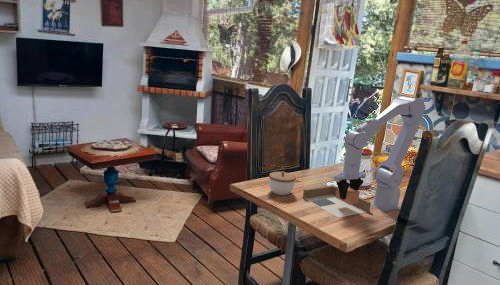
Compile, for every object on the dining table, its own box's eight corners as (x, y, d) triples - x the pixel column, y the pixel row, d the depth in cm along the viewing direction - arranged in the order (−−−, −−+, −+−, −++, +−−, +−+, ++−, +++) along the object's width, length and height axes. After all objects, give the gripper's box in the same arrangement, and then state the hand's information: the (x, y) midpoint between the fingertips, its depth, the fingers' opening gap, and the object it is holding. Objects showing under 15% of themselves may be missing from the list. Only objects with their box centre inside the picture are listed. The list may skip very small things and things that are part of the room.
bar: (335, 197, 143) (337, 186, 142) (344, 196, 145) (345, 185, 144) (349, 204, 137) (351, 193, 136) (357, 203, 140) (359, 191, 139)
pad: (325, 198, 150) (326, 198, 150) (335, 203, 146) (335, 203, 146) (310, 201, 146) (310, 201, 146) (320, 206, 141) (320, 206, 141)
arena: (332, 194, 158) (333, 185, 157) (369, 212, 141) (370, 202, 140) (302, 199, 149) (303, 189, 148) (338, 219, 133) (339, 208, 132)
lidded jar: (262, 192, 153) (264, 170, 151) (279, 187, 161) (281, 166, 159) (282, 200, 146) (284, 177, 144) (299, 195, 153) (301, 173, 151)
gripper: (357, 158, 145) (352, 191, 148) (330, 161, 138) (325, 196, 141) (372, 163, 139) (366, 198, 142) (344, 167, 132) (339, 203, 135)
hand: (347, 197), depth 141 cm, fingers closed on bar, 4 cm apart
